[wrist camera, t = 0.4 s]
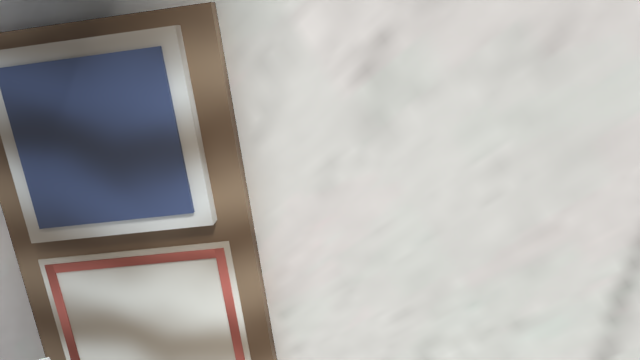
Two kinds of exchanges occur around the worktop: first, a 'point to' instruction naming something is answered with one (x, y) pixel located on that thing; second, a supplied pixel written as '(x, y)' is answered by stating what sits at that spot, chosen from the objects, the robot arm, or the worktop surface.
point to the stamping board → (130, 190)
